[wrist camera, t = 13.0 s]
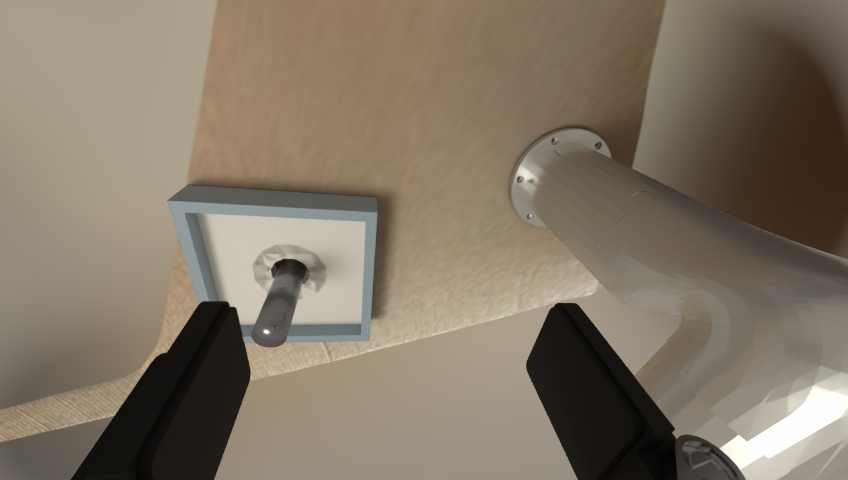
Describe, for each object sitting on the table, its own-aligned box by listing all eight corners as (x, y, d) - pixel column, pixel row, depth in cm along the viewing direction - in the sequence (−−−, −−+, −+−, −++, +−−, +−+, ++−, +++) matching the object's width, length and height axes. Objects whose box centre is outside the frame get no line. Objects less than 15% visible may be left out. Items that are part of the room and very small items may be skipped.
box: (377, 197, 38) (377, 212, 34) (369, 320, 48) (369, 341, 44) (187, 184, 34) (167, 200, 31) (222, 320, 44) (210, 343, 41)
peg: (307, 253, 40) (285, 324, 30) (308, 273, 42) (288, 347, 32) (280, 252, 40) (248, 324, 30) (282, 272, 41) (253, 347, 31)
